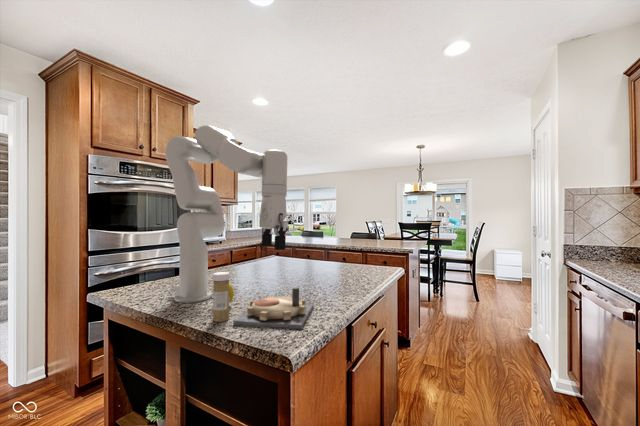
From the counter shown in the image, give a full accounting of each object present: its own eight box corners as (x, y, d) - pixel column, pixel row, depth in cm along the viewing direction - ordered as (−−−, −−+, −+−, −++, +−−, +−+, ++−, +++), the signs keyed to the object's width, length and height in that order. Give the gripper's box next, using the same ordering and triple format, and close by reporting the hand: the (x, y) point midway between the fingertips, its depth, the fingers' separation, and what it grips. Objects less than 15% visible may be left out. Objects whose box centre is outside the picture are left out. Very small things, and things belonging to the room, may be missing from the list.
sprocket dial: (265, 299, 95) (265, 279, 95) (314, 304, 89) (314, 282, 90) (234, 316, 78) (235, 291, 78) (292, 324, 73) (292, 297, 73)
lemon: (225, 309, 89) (225, 284, 89) (212, 307, 91) (212, 283, 91) (237, 304, 94) (237, 281, 94) (224, 302, 96) (224, 279, 96)
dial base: (233, 325, 76) (233, 320, 76) (258, 304, 95) (258, 300, 95) (301, 329, 73) (301, 324, 73) (313, 307, 92) (313, 303, 92)
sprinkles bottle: (231, 316, 82) (231, 271, 83) (226, 322, 78) (226, 274, 78) (216, 316, 82) (216, 271, 83) (209, 322, 78) (210, 274, 78)
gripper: (252, 192, 90) (251, 245, 89) (274, 188, 75) (273, 251, 75) (274, 194, 94) (272, 244, 94) (298, 190, 79) (297, 250, 79)
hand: (273, 247), depth 84 cm, fingers open, 9 cm apart
